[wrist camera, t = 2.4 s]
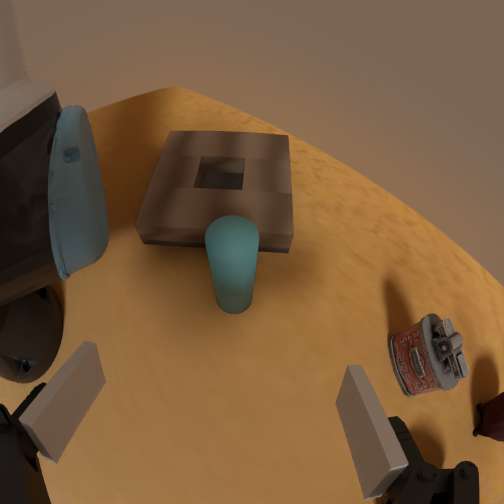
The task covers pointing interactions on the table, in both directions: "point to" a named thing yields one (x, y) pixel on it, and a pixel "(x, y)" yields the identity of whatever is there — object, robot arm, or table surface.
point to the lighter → (428, 356)
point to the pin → (232, 261)
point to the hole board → (219, 188)
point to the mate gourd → (491, 418)
